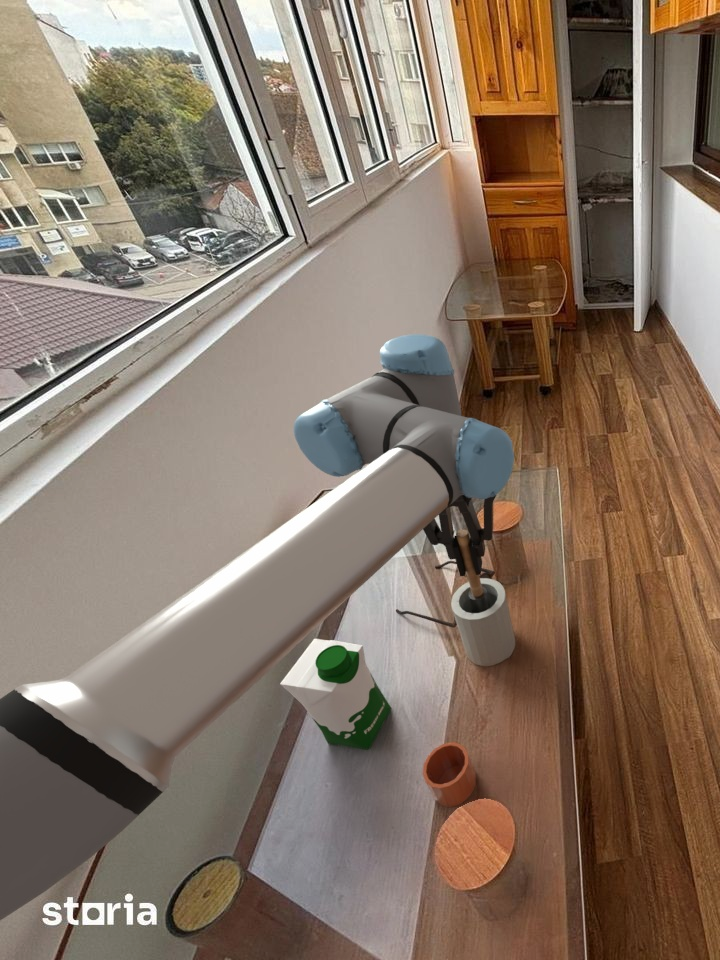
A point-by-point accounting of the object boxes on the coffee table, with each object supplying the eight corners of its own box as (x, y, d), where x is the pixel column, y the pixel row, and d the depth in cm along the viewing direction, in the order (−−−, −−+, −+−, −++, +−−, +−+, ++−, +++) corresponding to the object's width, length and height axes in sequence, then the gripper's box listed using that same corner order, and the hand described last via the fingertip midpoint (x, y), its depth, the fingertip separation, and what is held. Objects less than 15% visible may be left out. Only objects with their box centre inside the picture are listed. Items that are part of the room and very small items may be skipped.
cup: (491, 676, 91) (477, 628, 83) (455, 652, 95) (439, 604, 86) (525, 640, 97) (516, 591, 89) (490, 619, 101) (479, 570, 93)
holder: (453, 817, 74) (443, 797, 69) (424, 792, 76) (413, 771, 72) (485, 778, 78) (477, 757, 73) (456, 755, 80) (447, 734, 76)
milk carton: (371, 757, 80) (327, 688, 68) (318, 748, 81) (264, 678, 68) (400, 704, 87) (364, 633, 74) (350, 697, 88) (307, 625, 75)
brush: (483, 624, 89) (461, 542, 77) (471, 616, 90) (447, 535, 78) (495, 612, 91) (476, 531, 79) (483, 605, 92) (462, 524, 80)
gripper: (498, 432, 73) (518, 549, 87) (389, 438, 71) (428, 556, 85) (494, 463, 67) (516, 582, 81) (375, 470, 65) (419, 591, 80)
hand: (471, 569), depth 83 cm, fingers closed on brush, 2 cm apart
